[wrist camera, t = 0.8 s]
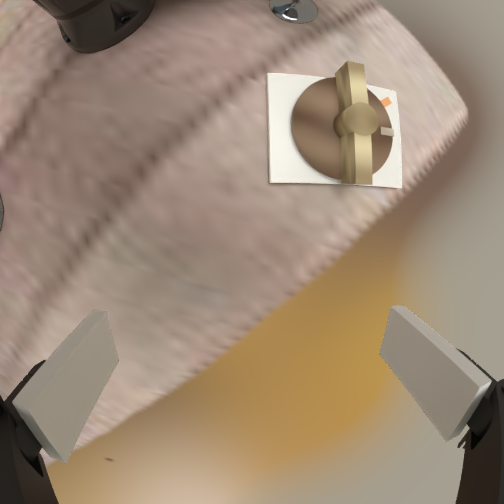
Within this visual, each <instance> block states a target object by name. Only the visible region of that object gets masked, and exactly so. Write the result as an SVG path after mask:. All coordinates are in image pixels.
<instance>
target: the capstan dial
mask: <svg viewBox="0 0 504 504" xmlns="http://www.w3.org/2000/svg"><path fill="white" fill-rule="evenodd" d="M335 76H336V77H333V78H325V79H322V80H319V81H317V82H315V83H313V84H311V85H310V86H309V87H307V88H306V89H305V90H304V91H303V93H302V94H301V95H300V97H299V98H298V99H297V101H296V103H295V105H294V108H293V111H292V116H291V129H292V135H293V139H294V141H295V144H296V146H297V148H298V150H299V152H300V153H301V155H302V156H303V158H304V159H305V160H306V161H307V162H308V163H309V164H310V165H311V166H312V167H313V168H314V169H316V170H317V171H319V172H320V173H322V174H324V175H326V176H328V177H331V178H335V179H339V180H341V184H355V185H372V175H373V174H374V173H376V172H377V171H378V170H379V169H380V168H381V167H382V166H383V165H384V164H385V162H386V161H387V159H388V157H389V154H390V152H391V148H392V142H393V137H394V129H392V125H391V121H390V118H389V116H388V113H387V111H386V109H385V107H384V106H383V104H382V103H381V101H380V100H379V99H378V98H377V97H376V96H375V95H374V94H373V93H372V92H371V91H370V90H369V89H367V85H366V78H365V71H364V64H360V63H355V62H350V61H347V62H346V63H345V64H344V65H343V66H342V67H341V68H340V69H339V70H338V71H337V72H336V73H335Z"/></svg>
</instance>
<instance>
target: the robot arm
mask: <svg viewBox="0 0 504 504" xmlns="http://www.w3.org/2000/svg"><path fill="white" fill-rule="evenodd" d="M33 1H34V2H35V3H37V4H38V5H39V6H40V7H42V8H43V9H44V10H45V11H47V12H48V13H49V14H50V15H52V16H53V17H54V18H55V19H56V20H57V23H58V26H59V28H60V31H61V34H62V36H63V39H64V41H65V42H66V43H67V44H68V45H69V46H70V47H71V48H73V49H74V50H76V51H78V52H82V53H90V52H96V51H100V50H103V49H105V48H108V47H110V46H112V45H114V44H116V43H118V42H120V41H121V40H123V39H124V38H126V37H127V36H129V35H130V34H131V33H132V32H134V31H135V30H136V29H137V28H138V27H139V26H140V25H141V24H142V23H143V22H144V21H145V19H146V18H147V17H148V15H149V14H150V12H151V10H152V8H153V5H154V0H33ZM379 354H380V355H381V357H382V358H383V359H384V360H385V362H386V363H387V364H388V366H389V367H390V368H391V369H392V371H393V372H394V373H395V375H396V376H397V377H398V378H399V380H400V381H401V382H402V384H403V385H404V386H405V387H406V389H407V390H408V391H409V393H410V394H411V395H412V397H413V398H414V399H415V400H416V402H417V403H418V405H419V406H420V407H421V408H422V410H423V411H424V413H425V414H426V415H427V417H428V418H429V419H430V421H431V422H432V423H433V425H434V426H435V427H436V429H437V430H438V431H439V433H440V434H441V436H442V437H443V438H444V440H445V441H446V442H447V441H449V440H451V439H452V438H454V437H456V436H458V435H459V434H460V433H461V432H462V430H463V429H464V427H465V426H466V424H467V425H468V426H469V428H470V429H469V430H468V432H467V433H466V434H465V436H464V437H463V439H462V440H461V441H460V443H459V444H458V448H460V446H461V445H462V444H463V443H464V441H466V443H465V445H464V447H463V448H464V449H465V454H464V461H463V469H462V475H461V481H460V486H459V491H458V495H457V500H456V504H504V379H502V380H500V381H498V382H497V381H496V380H495V379H493V378H492V377H491V376H490V375H489V374H488V373H487V372H486V371H485V370H483V369H482V368H481V367H480V366H479V365H476V363H475V362H474V361H473V360H471V358H470V357H469V356H468V355H466V354H465V353H464V352H462V351H460V350H459V349H457V348H455V347H453V346H452V345H451V344H450V343H449V342H447V341H446V340H445V339H444V338H443V337H441V335H439V334H438V333H437V332H436V331H434V330H433V329H432V328H431V327H430V326H428V325H427V324H426V323H425V322H423V321H422V320H421V319H420V318H418V317H417V316H416V315H415V314H414V313H412V312H411V311H410V310H409V309H407V308H406V307H405V306H404V305H399V306H391V307H390V312H389V317H388V321H387V326H386V330H385V334H384V338H383V342H382V345H381V349H380V353H379ZM118 362H119V359H118V355H117V351H116V347H115V343H114V339H113V335H112V331H111V327H110V322H109V318H108V313H107V311H98V310H93V311H92V312H91V313H90V314H89V315H88V316H87V317H86V318H85V319H84V320H83V321H82V322H81V323H80V324H79V325H78V326H77V327H76V329H75V330H74V331H73V332H72V333H71V334H70V335H69V336H68V337H67V338H66V339H65V340H64V341H63V342H62V344H61V345H60V346H59V347H58V348H57V349H56V350H55V351H54V352H53V353H52V355H51V356H50V357H49V358H48V359H47V360H43V361H41V362H40V363H38V364H37V365H35V366H34V367H33V368H32V369H31V370H30V372H29V373H28V375H26V376H25V377H24V378H23V381H21V382H20V383H19V384H18V386H17V387H16V388H15V389H14V390H13V392H12V393H11V394H10V395H9V396H8V398H7V399H6V400H5V401H3V399H2V397H1V396H0V504H59V503H58V501H57V498H56V496H55V493H54V490H53V488H52V485H51V482H50V479H49V476H48V473H47V470H46V467H45V464H44V461H43V458H42V456H41V454H40V453H39V452H40V450H41V448H42V447H43V449H44V450H45V451H46V453H47V454H48V455H49V456H50V457H52V458H54V459H56V460H59V461H61V462H64V463H67V461H68V459H69V457H70V454H71V452H72V450H73V448H74V446H75V444H76V442H77V440H78V437H79V435H80V433H81V431H82V429H83V427H84V425H85V423H86V421H87V419H88V417H89V415H90V413H91V411H92V409H93V408H94V406H95V404H96V402H97V400H98V398H99V396H100V394H101V392H102V391H103V389H104V387H105V385H106V383H107V381H108V380H109V378H110V376H111V374H112V372H113V371H114V369H115V367H116V365H117V363H118Z"/></svg>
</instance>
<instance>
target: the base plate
mask: <svg viewBox="0 0 504 504" xmlns="http://www.w3.org/2000/svg"><path fill="white" fill-rule="evenodd" d="M322 79H325V78H324V77H316V76H307V75H296V74H282V73H267V77H266V83H267V115H268V156H269V183H319V184H341V180H339V179H335V178H331V177H328V176H326V175H324V174H322V173H320V172H319V171H317V170H316V169H314V168H313V167H312V166H311V165H310V164H309V163H308V162H307V161H306V160H305V159H304V158H303V156H302V155H301V153H300V152H299V150H298V148H297V146H296V144H295V141H294V139H293V135H292V129H291V116H292V111H293V108H294V105H295V103H296V101H297V99H298V98H299V97H300V95H301V94H302V93H303V91H304V90H305V89H306V88H307V87H309V86H310V85H311V84H313V83H315V82H317V81H319V80H322ZM367 89H369V90H370V91H371V92H372V93H373V94H374V95H375V96H376V97H377V98H378V99H379V100H380V101H381V103H382V104H383V106H384V107H385V109H386V111H387V113H388V116H389V118H390V121H391V125H392V129H394V137H393V142H392V148H391V152H390V154H389V157H388V159H387V161H386V162H385V164H384V165H383V166H382V167H381V168H380V169H379V170H378V171H377V172H376V173H374V174H373V175H372V185H363V186H378V187H391V188H402V157H401V137H400V124H399V114H398V105H397V97H396V91H392V90H388V89H384V88H380V87H375V86H371V85H367ZM345 185H355V184H345Z"/></svg>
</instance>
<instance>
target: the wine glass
mask: <svg viewBox="0 0 504 504" xmlns="http://www.w3.org/2000/svg"><path fill="white" fill-rule="evenodd" d="M270 8H271V10H272V12H273V13H274V14H275V15H276V16H278V17H279V18H281V19H283V20H285V21H288V22H292V23H308V22H311V21H312V20H314V19H315V18H316V17H317V14H318V9H317V7H316V5H315V3H314V2H313V1H312V0H270Z"/></svg>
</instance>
